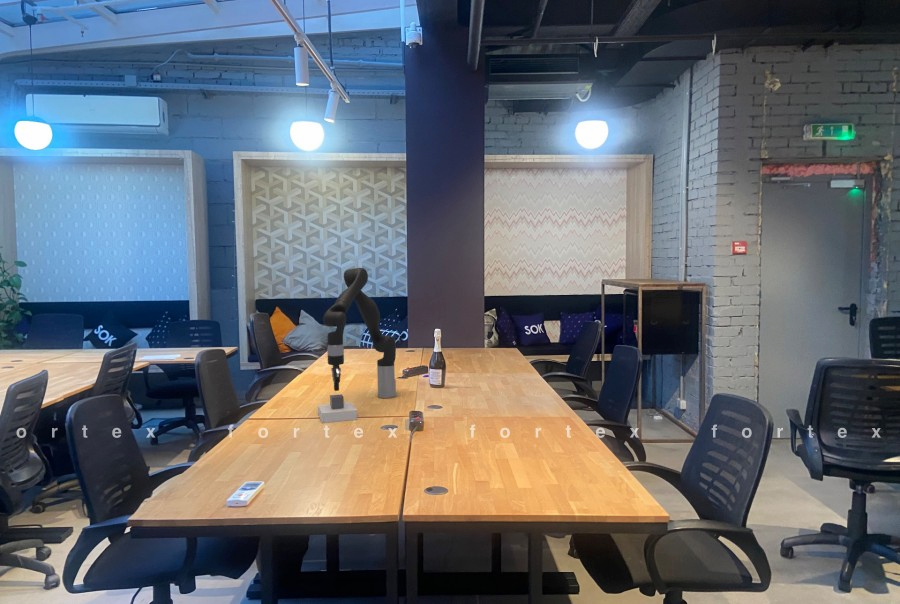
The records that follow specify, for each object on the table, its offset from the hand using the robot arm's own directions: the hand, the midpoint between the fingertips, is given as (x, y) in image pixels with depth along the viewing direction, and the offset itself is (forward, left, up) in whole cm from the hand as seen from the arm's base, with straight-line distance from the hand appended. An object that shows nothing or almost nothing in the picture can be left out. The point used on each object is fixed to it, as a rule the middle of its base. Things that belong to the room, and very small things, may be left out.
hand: (336, 390), depth 277 cm
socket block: (0, 0, -13) cm, 13 cm away
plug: (0, 0, -13) cm, 13 cm away
